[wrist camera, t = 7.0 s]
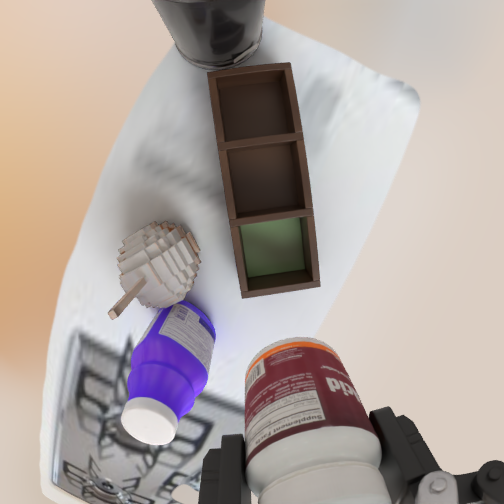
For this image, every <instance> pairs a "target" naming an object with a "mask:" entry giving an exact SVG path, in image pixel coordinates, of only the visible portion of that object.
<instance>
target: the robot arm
mask: <svg viewBox="0 0 504 504" xmlns="http://www.w3.org/2000/svg"><path fill="white" fill-rule="evenodd" d="M152 2H153V4H154V5H155V7H156V9H157V11H158V12H159V14H160V16H161V18H162V20H163V21H164V23H165V25H166V26H167V28H168V30H169V32H170V33H171V36H172V38H173V40H174V41H175V44H176V47H177V49H178V51H179V52H180V54H181V55H182V56H183V58H184V59H186V60H187V61H188V62H189V63H191V64H193V65H195V66H197V67H200V68H204V69H211V70H218V69H226V68H230V67H233V66H236V65H238V64H240V63H242V62H244V61H245V60H247V59H248V58H249V57H251V56H252V55H253V54H254V52H255V51H256V50H257V48H258V46H259V44H260V42H261V38H262V22H263V14H264V6H265V0H152ZM369 420H370V422H371V424H372V426H373V428H374V430H375V432H376V434H377V436H378V438H379V442H380V445H381V449H382V460H381V463H380V466H379V468H378V470H379V471H380V473H381V475H382V476H383V478H384V481H385V485H386V487H387V490H388V492H389V495H390V498H391V504H504V463H503V462H501V461H498V460H493V461H489V462H487V463H485V464H484V465H483V466H482V467H481V468H480V469H479V471H477V472H472V473H467V474H462V475H452V474H450V473H449V472H446V471H443V470H442V469H441V468H440V467H439V466H438V464H437V462H436V460H435V458H434V457H433V455H432V453H431V452H430V450H429V448H428V446H427V445H426V443H425V441H423V438H422V436H421V434H420V433H419V431H418V429H417V427H416V426H415V424H414V422H413V421H411V420H410V419H409V418H407V417H406V416H404V415H401V416H398V417H396V416H395V415H394V413H393V411H392V409H391V408H390V407H384V408H381V409H378V410H374V411H371V412H370V414H369ZM198 504H251V490H250V488H249V486H248V484H247V481H246V477H245V441H244V438H243V435H242V434H233V435H223V436H222V441H221V448H219V449H210V450H209V451H208V453H207V454H206V456H205V457H204V459H203V466H202V475H201V483H200V492H199V502H198Z"/></svg>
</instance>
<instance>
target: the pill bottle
mask: <svg viewBox="0 0 504 504" xmlns="http://www.w3.org/2000/svg"><path fill="white" fill-rule="evenodd" d="M381 460H382V449H381V445H380V442H379V438H378V436H377V434H376V432H375V430H374V428H373V426H372V424H371V422H370V420H369V418H368V416H367V414H366V411H365V409H364V407H363V405H362V403H361V400H360V398H359V395H358V394H357V392H356V390H355V388H354V386H353V384H352V382H351V380H350V378H349V375H348V373H347V372H346V370H345V368H344V366H343V364H342V362H341V360H340V358H339V356H338V354H337V353H336V352H335V351H334V350H333V349H332V348H331V347H330V346H329V345H327V344H326V343H324V342H322V341H320V340H317V339H313V338H308V337H294V338H288V339H284V340H280V341H278V342H275V343H273V344H271V345H269V346H267V347H265V348H263V349H262V350H261V351H260V352H259V353H258V354H257V355H256V356H255V357H254V358H253V360H252V361H251V363H250V364H249V366H248V369H247V371H246V376H245V477H246V481H247V484H248V486H249V488H250V490H251V491H252V492H253V493H254V494H255V495H256V496H257V497H258V504H391V498H390V495H389V492H388V490H387V487H386V485H385V481H384V478H383V476H382V475H381V473H380V471H379V470H378V468H379V466H380V463H381Z"/></svg>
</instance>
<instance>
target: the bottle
mask: <svg viewBox="0 0 504 504" xmlns="http://www.w3.org/2000/svg"><path fill="white" fill-rule="evenodd" d="M215 339H216V333H215V329H214V327H213V325H212V323H211V322H210V320H209V319H208V318H207V316H206V315H205V314H204V313H203V312H202V311H201V310H199V309H198V308H197V307H195V306H194V305H192V304H191V303H189V302H187V301H184V300H182V301H180V302H177V303H175V304H173V305H171V306H169V307H167V308H161V309H160V310H159V311H158V313H157V315H156V316H155V317H154V319H153V320H152V322H151V323H150V325H149V326H148V328H147V330H146V331H145V333H144V334H143V336H142V338H141V339H140V341H139V342H138V344H137V345H136V347H135V349H134V351H133V354H132V358H131V369H132V371H131V372H130V374H129V377H128V382H127V387H128V391H129V399H128V402H127V403H126V405H125V408H124V411H123V413H122V416H121V421H122V424H123V426H124V428H125V430H126V431H127V432H128V433H129V434H130V435H132V436H133V437H134V438H136V439H138V440H140V441H142V442H144V443H147V444H152V445H163V444H167V443H169V442H170V441H172V439H173V438H174V436H175V432H176V429H177V427H178V422H179V420H180V418H181V417H182V416H183V415H185V414H186V413H188V412H189V411H190V410H191V408H192V407H193V404H194V401H195V397H196V396H197V395H199V394H200V393H201V392H202V390H203V388H204V387H205V385H206V383H207V379H208V373H209V369H210V363H211V358H212V353H213V348H214V342H215Z"/></svg>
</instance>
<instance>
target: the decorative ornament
mask: <svg viewBox="0 0 504 504" xmlns="http://www.w3.org/2000/svg"><path fill="white" fill-rule="evenodd" d="M122 242H123V244H124V247H122V248H120V249H119V250H118V251H119V252H120V254H121V255H120V256H119V257H117V260H118V261H119V264H118V267H119V269H120V270H121V272H122V273H121V274H120V275H119V276H120V277H119V279H120V280H121V281H120V284H121V286H122V288H123V289H124V291H125V293H126V294H125V295H124V296H123V297H122V298H121V299H120V300H119V301H118V302H117V303H116V304H115V305H114V306H113V308H112V309H111V310H110V311H109V312H108V315H109V316H110V318H111V319H112V320H113V319H115V318H117V317H118V316H119V315H120V314H121V313H122V312H123V310H124V309H125V308H126V307H127V306H128V304H129V303H130V302H131V301H132V300H133V298H135V297H137V298H138V300H139V301H140V303H141V305H142V306H143V305H145V306H146V307H147V308H148V307H150V306H152V307H153V308H155V307H157V306H158V307H159V308H167V307H169V306H171V305H173V304H175V303H177V302H180V301H182V300H184V298H185V296H186V294H187V292H188V291H189V290H191V288H192V286H193V283H194V281H193V280H194V278H195V277H197V273H196V271H197V270H199V267H198V264H200V263H201V260H200V259H199V257H198V255H197V253H198V252H200V248H199V247H198V245H197V243H196V241H195V239H194V238H193V236H192V234H191V232H189V233H187V234H185V232H184V230H183V228H182V226H181V225H180V226H178V227H176V226H175V224H174V223H173V224H171V225H169V224H168V222H167V221H165V222H164V223H162V224H160V225H159V226H158V225H157V223H156V221H155V222H153V223H152V224H150V225H148V226H146V227H144V228H142V229H140V230H139V231H137V232H135V233H134V234H132V235H131V236H129V237H127V238H126V239H124V240H123V241H122Z"/></svg>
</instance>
